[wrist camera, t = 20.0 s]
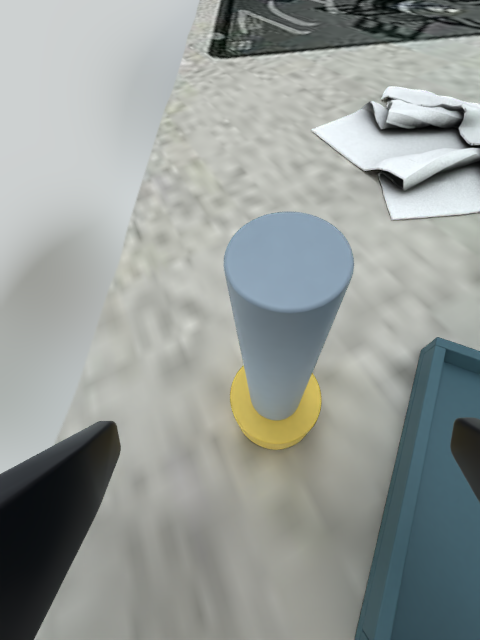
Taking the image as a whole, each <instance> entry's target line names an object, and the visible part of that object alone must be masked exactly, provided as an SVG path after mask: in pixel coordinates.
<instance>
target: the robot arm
mask: <svg viewBox="0 0 480 640" xmlns="http://www.w3.org/2000/svg"><path fill="white" fill-rule="evenodd" d="M450 449H451V452H452V455H453V457H454V459H455V460H456V462H457V464H458V466H459V467H460V469H461V471H462V473H463V475H464V476H465V478H466V480H467V482H468V483H469V485H470V487H471V489H472V490H473V492H474V494H475V496H476V497H477V499H478V501H479V503H480V419H477V418H473V417H465V418H457V419H456V420H455V421H454V425H453V431H452V436H451V442H450ZM120 450H121V446H120V440H119V435H118V430H117V426H116V423H115V422H113V421H99V422H97V423H95V424H93V425H91V426H89V427H88V428H86V429H84V430H82V431H80V432H78V433H76V434H74V435H73V436H71V437H69V438H67V439H65V440H63V441H61V442H59V443H58V444H56V445H54V446H52V447H50V448H48V449H47V450H45V451H43V452H41V453H39V454H37V455H36V456H33V457H31V458H30V459H28V460H26V461H24V462H23V463H20V464H19V465H17V466H15V467H13V468H11V469H9V470H7V471H5V472H3V473H2V474H0V640H34V638H35V636H36V634H37V632H38V630H39V628H40V626H41V624H42V622H43V620H44V618H45V616H46V614H47V612H48V610H49V608H50V606H51V604H52V602H53V600H54V598H55V596H56V594H57V592H58V590H59V588H60V586H61V584H62V582H63V580H64V578H65V576H66V574H67V572H68V570H69V568H70V566H71V564H72V562H73V560H74V558H75V556H76V554H77V552H78V550H79V548H80V546H81V544H82V542H83V540H84V538H85V536H86V534H87V532H88V530H89V528H90V526H91V524H92V522H93V520H94V518H95V516H96V513H97V511H98V509H99V507H100V504H101V502H102V499H103V497H104V494H105V492H106V489H107V486H108V484H109V481H110V479H111V476H112V473H113V471H114V468H115V466H116V463H117V461H118V458H119V455H120Z"/></svg>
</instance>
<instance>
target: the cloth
mask: <svg viewBox="0 0 480 640" xmlns="http://www.w3.org/2000/svg"><path fill="white" fill-rule="evenodd" d="M386 97H388V102H387V106H386V108H384V107H383V106H382V105H381V104H378V103H376V102H374V101H370V102H369V103H367V104H366V105H364V106H363V107H362V108H361V109H360V110H358V111H357V112H355V113H353V114H350V115H348V116H345V117H343V118H340V119H337V120H335V121H332V122H330V123H327V124H324V125H322V126H320V127H317V128H315V129H312V131H313V132H314V133H315V134H316V135H318V136H319V137H320V138H321V139H323V140H324V141H325V142H326V143H328V144H329V145H330V146H331V147H333V148H334V149H335V150H336V151H338V152H339V153H340V154H342V155H343V156H344V157H346V158H347V159H348V160H350V161H351V162H352V163H353V164H355V165H356V166H358V167H359V168H361V169H362V170H364V171H368V170H376V169H379V170H384V171H382V172H380V173H378V177H379V181H380V183H381V186H382V190H383V195H384V198H385V202H386V205H387V208H388V211H389V213H390V216H391V219H392V220H399V219H413V218H427V217H438V216H451V215H463V214H470V213H478V212H480V105H479V104H477V103H467V102H464V101H461V100H458V99H455V98H452V97H448V96H437V95H436V94H434V93H431V92H429V91H425V90H412V89H408V88H403V87H393V86H389V87H388V88H387V89H386V90H385V92H384V94H383V96H382V98H381V99H384V98H386ZM388 109H390V110H388Z"/></svg>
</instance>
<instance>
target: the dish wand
mask: <svg viewBox="0 0 480 640" xmlns="http://www.w3.org/2000/svg"><path fill="white" fill-rule="evenodd" d="M353 269H354V258H353V254H352V250H351V247H350V245H349V243H348V241H347V240H346V238H345V237H344V235H343V234H342V233H341V232H340V231H339V230H338V229H337V228H336V227H334V226H333V225H332V224H330V223H329V222H327V221H325V220H323V219H321V218H319V217H316V216H313V215H310V214H306V213H300V212H277V213H271V214H267V215H264V216H261V217H258V218H256V219H254V220H252V221H250V222H249V223H247V224H245V225H244V226H243V227H242V228H240V229H239V230H238V231H237V232H236V233H235V235H234V236H233V237H232V239H231V240H230V242H229V244H228V246H227V249H226V251H225V255H224V271H225V276H226V281H227V286H228V291H229V296H230V301H231V305H232V310H233V315H234V320H235V325H236V330H237V335H238V339H239V344H240V349H241V354H242V359H243V364H244V366H243V367H242V368H241V369H240V370H239V371H238V373H237V374H236V376H235V378H234V380H233V383H232V386H231V392H230V403H231V408H232V412H233V414H234V417H235V419H236V421H237V423H238V425H239V426H240V428H241V430H242V432H243V433H244V434H245V435H246V436H247V438H248V439H250V440H251V441H252V442H253V443H255V444H257V445H259V446H261V447H263V448H267V449H273V450H279V449H285V448H288V447H291V446H293V445H295V444H297V443H298V442H300V441H301V440H302V439H303V438H304V437H305V436H306V434H307V433H308V432H309V431H310V430H311V428H312V427H313V426H314V424H315V423H316V421H317V419H318V416H319V413H320V410H321V391H320V388H319V384H318V382H317V380H316V378H315V376H314V375H313V373H312V372H313V370H314V367H315V365H316V362H317V360H318V357H319V355H320V353H321V350H322V348H323V345H324V343H325V341H326V338H327V336H328V333H329V331H330V329H331V326H332V324H333V321H334V319H335V316H336V314H337V312H338V309H339V307H340V304H341V302H342V300H343V297H344V295H345V292H346V290H347V288H348V285H349V283H350V280H351V278H352V274H353Z"/></svg>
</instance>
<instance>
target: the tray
mask: <svg viewBox="0 0 480 640" xmlns="http://www.w3.org/2000/svg"><path fill="white" fill-rule="evenodd" d="M465 417H473V418H477V419H480V351H477V350H475V349H472V348H469V347H466V346H463V345H460V344H457V343H454V342H451V341H448V340H445V339H442V338H439V337H437V338H435V339H434V340H433V341H432V342H431V343H429V344H428V345H427V346H426V347H424V348H423V349H422V350H421V353H420V357H419V362H418V366H417V370H416V375H415V379H414V383H413V388H412V392H411V396H410V401H409V405H408V409H407V414H406V418H405V422H404V427H403V431H402V436H401V440H400V444H399V449H398V453H397V457H396V462H395V466H394V470H393V475H392V479H391V483H390V488H389V492H388V496H387V501H386V505H385V509H384V514H383V518H382V522H381V527H380V531H379V535H378V540H377V544H376V548H375V553H374V557H373V562H372V566H371V570H370V575H369V579H368V583H367V588H366V592H365V596H364V601H363V605H362V609H361V614H360V618H359V622H358V627H357V631H356V635H355V640H480V503H479V501H478V499H477V497H476V496H475V494H474V492H473V490H472V489H471V487H470V485H469V483H468V482H467V480H466V478H465V476H464V475H463V473H462V471H461V469H460V467H459V466H458V464H457V462H456V460H455V459H454V457H453V455H452V452H451V449H450V442H451V436H452V431H453V425H454V421H455V420H456V419H457V418H465Z"/></svg>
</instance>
